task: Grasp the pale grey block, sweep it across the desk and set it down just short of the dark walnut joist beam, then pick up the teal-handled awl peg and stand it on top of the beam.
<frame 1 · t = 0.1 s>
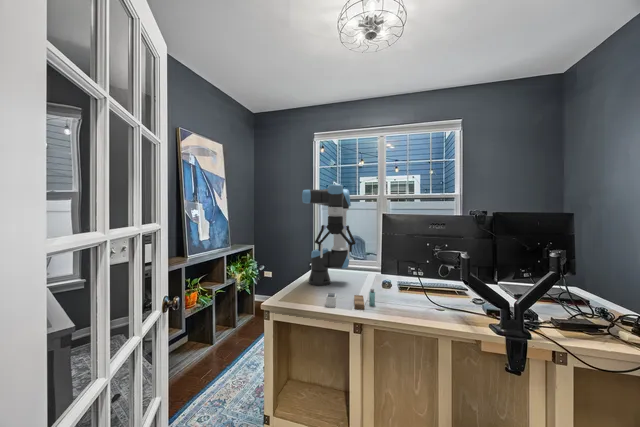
hand: (334, 257, 134), 28 cm above the table, fingers open, 13 cm apart
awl: (372, 304, 145), on the table
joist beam: (359, 304, 146), on the table
pale grey block: (331, 305, 145), on the table
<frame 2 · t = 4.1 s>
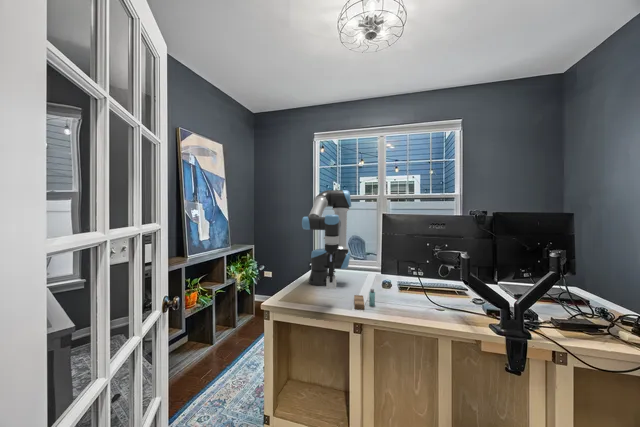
hand: (331, 286, 145), 10 cm above the table, fingers closed on pale grey block, 5 cm apart
pale grey block: (331, 286, 145), point 10 cm above the table, touching gripper
everything else where it was.
when the fingers open (1 cm above the table, at t = 7.4 s): pale grey block stays where it is, on the table.
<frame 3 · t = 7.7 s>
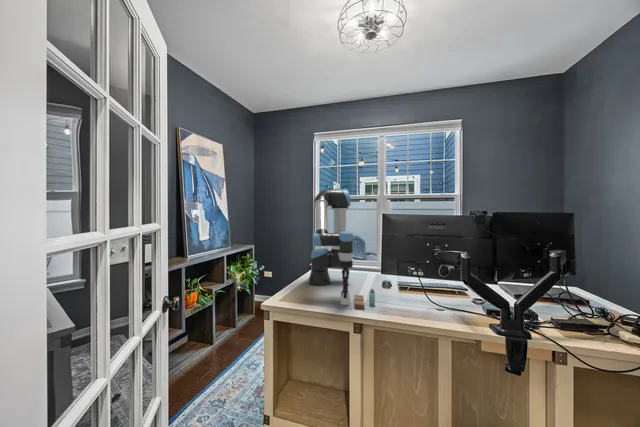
hand: (345, 300, 148), 1 cm above the table, fingers open, 8 cm apart
pale grey block: (345, 303, 148), on the table
everything else where it was.
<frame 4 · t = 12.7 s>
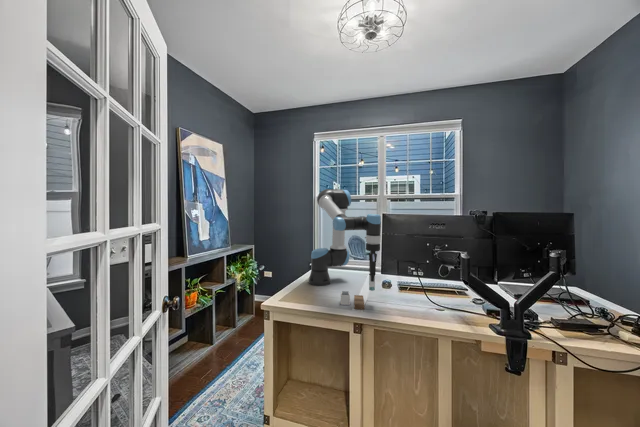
hand: (371, 285, 145), 10 cm above the table, fingers closed on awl, 2 cm apart
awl: (371, 289, 146), point 8 cm above the table, touching gripper
everything else where it was.
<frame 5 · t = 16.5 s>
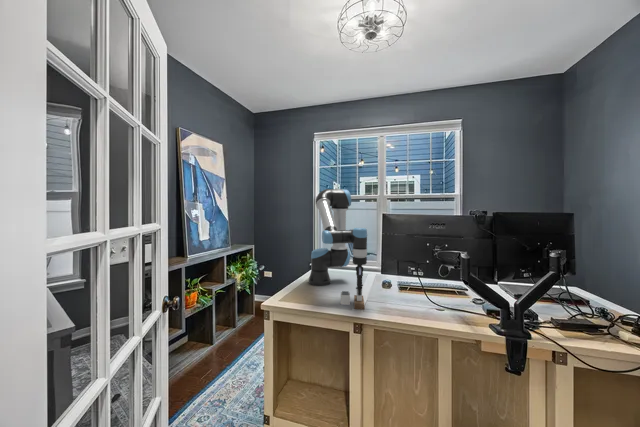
hand: (359, 299, 146), 3 cm above the table, fingers closed on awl, 3 cm apart
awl: (359, 299, 146), point 3 cm above the table, touching gripper
everything else where it was.
when the fingers open (3 cm above the table, at t = 16.5 s): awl stays where it is, resting on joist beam.
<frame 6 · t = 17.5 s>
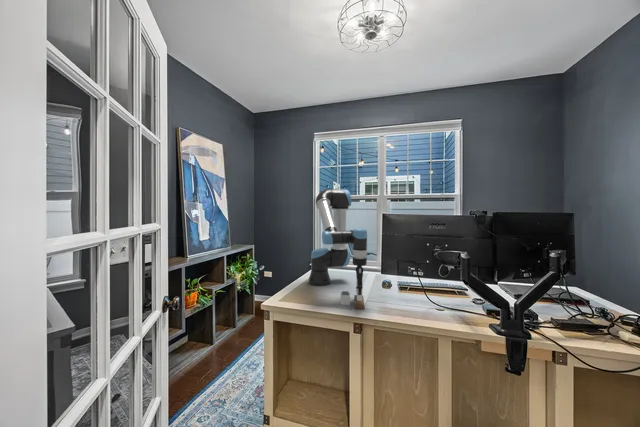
hand: (359, 296, 146), 5 cm above the table, fingers open, 13 cm apart
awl: (359, 299, 146), point 3 cm above the table, touching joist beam
everything else where it was.
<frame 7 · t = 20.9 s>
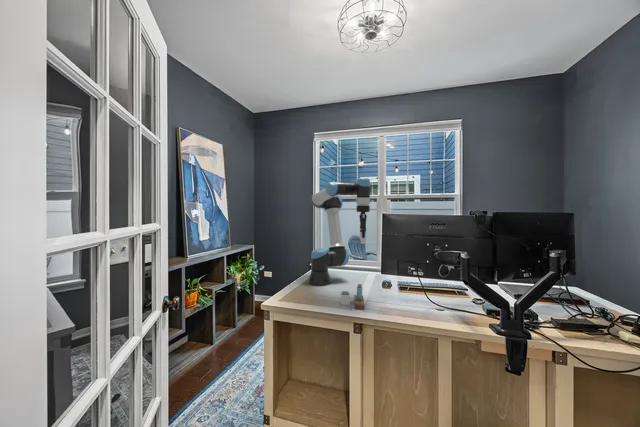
hand: (362, 241, 156), 33 cm above the table, fingers open, 13 cm apart
nothing on the table moved.
at the end: pale grey block inside the target area (0.5 cm from its centre), on the table; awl inside the target area (0.4 cm from its centre), point 2.5 cm above the table; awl tilted 1° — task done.
